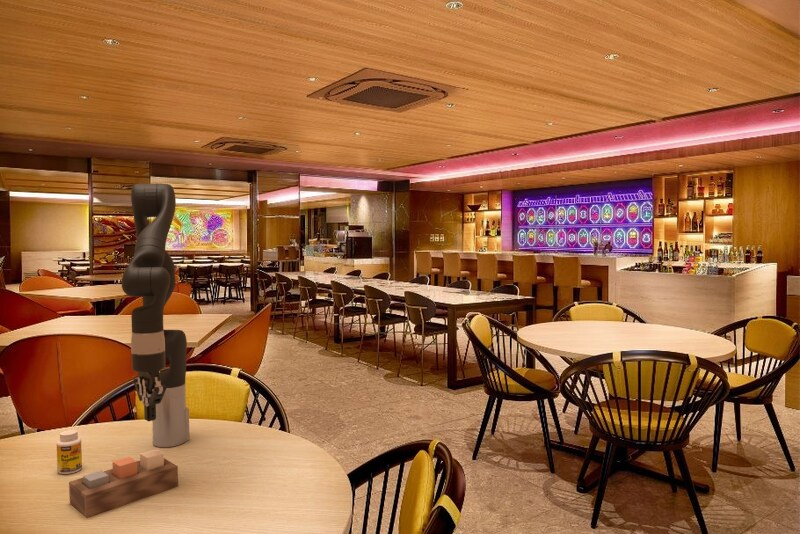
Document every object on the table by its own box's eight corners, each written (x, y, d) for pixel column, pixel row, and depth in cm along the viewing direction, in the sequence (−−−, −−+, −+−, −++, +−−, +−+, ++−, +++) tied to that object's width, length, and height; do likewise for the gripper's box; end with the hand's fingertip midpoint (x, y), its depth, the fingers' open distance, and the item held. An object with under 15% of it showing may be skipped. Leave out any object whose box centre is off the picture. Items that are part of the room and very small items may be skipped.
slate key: (102, 487, 136) (101, 470, 135) (109, 492, 133) (108, 475, 133) (83, 492, 133) (83, 475, 132) (90, 498, 130) (89, 481, 130)
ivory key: (156, 464, 145) (155, 448, 145) (163, 469, 143) (163, 453, 142) (140, 469, 142) (139, 453, 142) (147, 474, 140) (147, 457, 139)
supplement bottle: (58, 477, 147) (56, 437, 146) (56, 469, 152) (55, 431, 151) (83, 472, 150) (81, 433, 149) (81, 464, 155) (79, 426, 154)
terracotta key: (130, 472, 140) (129, 456, 140) (137, 477, 138) (136, 461, 137) (112, 478, 137) (112, 461, 137) (120, 483, 135) (119, 466, 134)
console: (158, 474, 149) (158, 455, 149) (178, 485, 142) (177, 465, 142) (69, 502, 133) (68, 481, 133) (86, 517, 127) (85, 495, 126)
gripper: (176, 351, 139) (178, 422, 140) (151, 343, 147) (153, 410, 149) (145, 356, 133) (147, 430, 134) (120, 348, 142) (123, 417, 143)
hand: (150, 419), depth 142 cm, fingers closed
